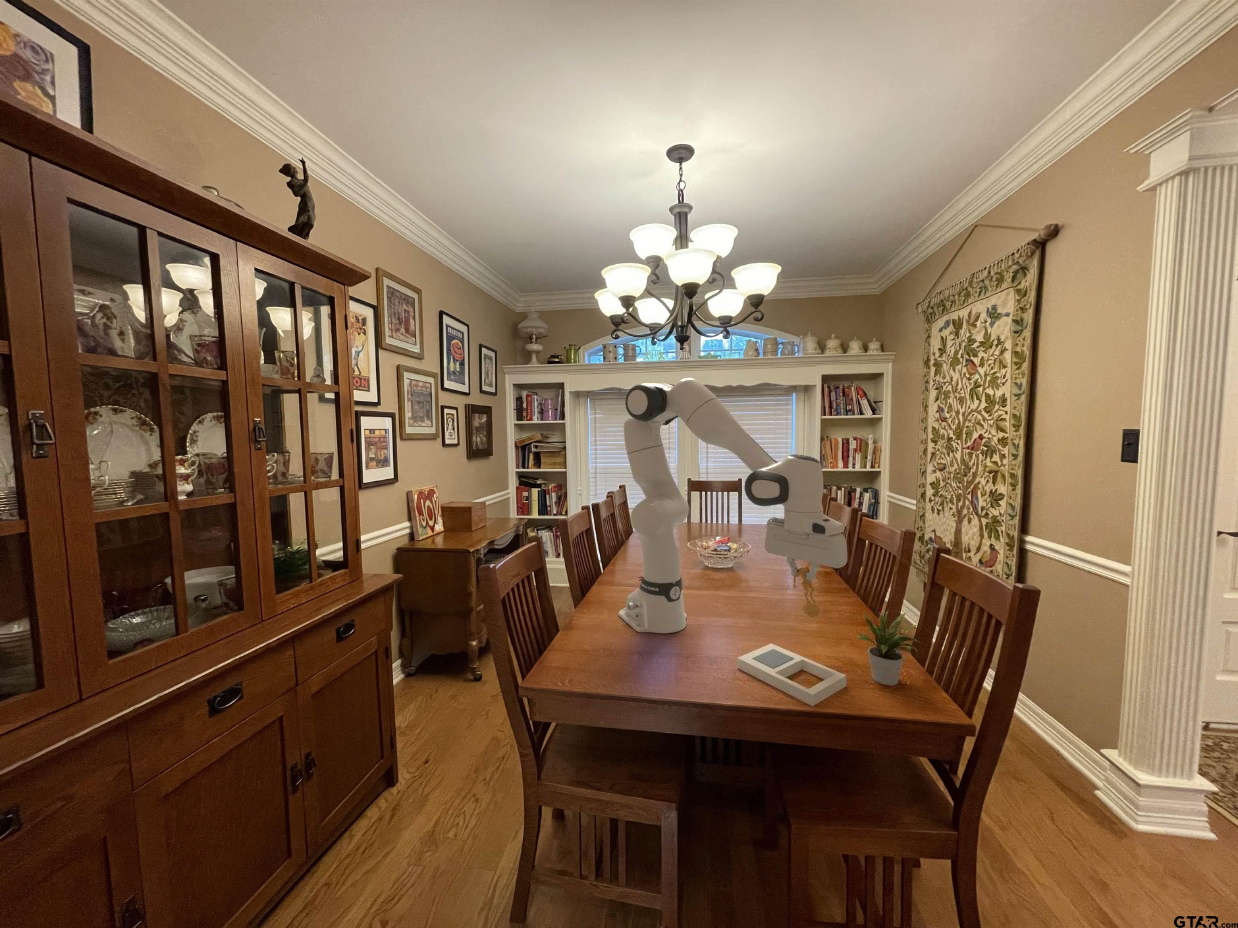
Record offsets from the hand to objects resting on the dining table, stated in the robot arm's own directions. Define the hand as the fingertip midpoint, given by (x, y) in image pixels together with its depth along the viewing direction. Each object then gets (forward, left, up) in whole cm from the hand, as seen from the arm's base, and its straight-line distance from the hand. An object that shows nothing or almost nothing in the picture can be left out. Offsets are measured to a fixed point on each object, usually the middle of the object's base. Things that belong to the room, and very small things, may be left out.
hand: (803, 577), depth 114 cm
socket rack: (+2, -8, -22) cm, 23 cm away
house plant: (+15, +7, -22) cm, 27 cm away
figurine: (+1, 0, -9) cm, 9 cm away
